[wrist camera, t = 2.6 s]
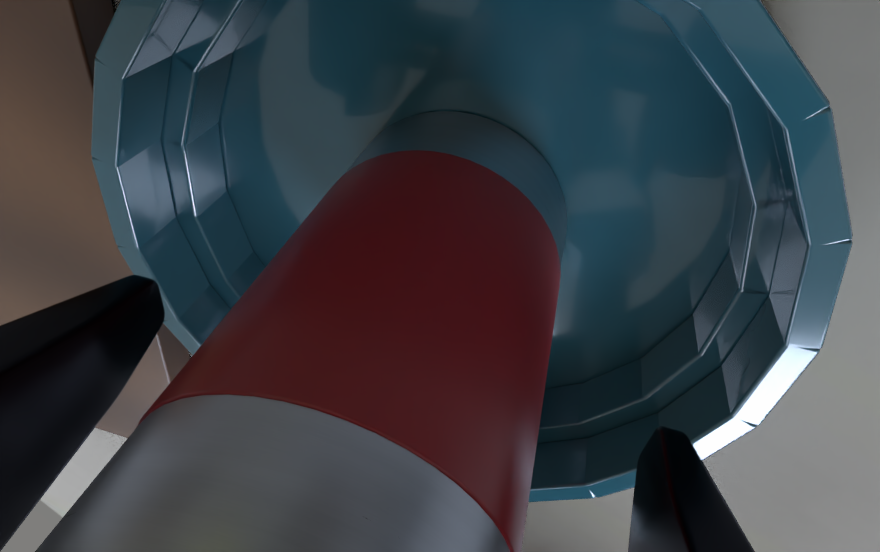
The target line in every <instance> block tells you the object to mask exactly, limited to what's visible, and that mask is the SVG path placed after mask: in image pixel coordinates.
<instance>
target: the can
mask: <svg viewBox="0 0 880 552" xmlns="http://www.w3.org/2000/svg"><path fill="white" fill-rule="evenodd" d="M566 227H567V213H566V205H565V200H564V196H563V192H562V190H561V187H560V185H559V182H558V180H557V178H556V176H555V174H554V173H553V171H552V169H551V167H550V166H549V165H548V163H547V162H546V161H545V159H544V158H543V157H542V155H541V154H540V153H539V152H538V151H537V150H536V149H535V148H534V147H533V146H532V145H531V144H530V143H528V142H527V141H526V140H525V139H523V138H522V137H521V136H520V135H518V134H517V133H515V132H513V131H512V130H510V129H509V128H507V127H505V126H503V125H501V124H499V123H497V122H494V121H492V120H490V119H487V118H484V117H480V116H477V115H474V114H468V113H462V112H451V111H438V112H427V113H422V114H418V115H414V116H411V117H408V118H405V119H403V120H400V121H398V122H396V123H395V124H393V125H391V126H389V127H388V128H386V129H385V130H384V131H382V132H381V133H380V134H379V135H377V136H376V137H375V138H374V139H373V140H372V142H371V143H370V144H369V145H368V146H367V147H366V148H365V150H364V151H363V152H362V153H361V154H360V156H359V157H358V158H357V159H356V161H355V162H354V163H353V164H352V165H351V167H350V168H349V169H348V170H347V172H346V173H345V174H344V175H343V176H341V178H340V179H339V180H338V181H337V182H336V183H335V184H334V185H333V186H332V187H331V189H330V190H329V191H328V192H327V193H326V195H325V196H324V197H323V198H322V200H321V201H320V202H319V203H318V204H317V206H316V207H315V208H314V209H313V210H312V212H311V213H310V214H309V215H308V217H307V218H306V219H305V220H304V221H303V223H302V224H301V225H300V226H299V227H298V229H297V230H296V231H295V232H294V234H293V235H292V236H291V237H290V238H289V240H288V241H287V242H286V243H285V244H284V246H283V247H282V248H281V249H280V250H279V252H278V253H277V254H276V255H275V257H274V258H273V259H272V260H271V261H270V263H269V264H268V265H267V266H266V267H265V269H264V270H263V271H262V272H261V274H260V275H259V276H258V277H257V278H256V280H255V281H254V282H253V283H252V284H251V286H250V287H249V288H248V289H247V290H246V292H245V293H244V294H243V295H242V297H241V298H240V299H239V300H238V301H237V303H236V304H235V305H234V306H233V307H232V309H231V310H230V311H229V312H228V314H227V315H226V316H225V317H224V318H223V320H222V321H221V322H220V323H219V324H218V326H217V327H216V328H215V329H214V330H213V332H212V333H211V334H210V335H209V337H208V338H207V339H206V340H205V341H204V343H203V344H202V345H201V346H200V347H199V349H198V350H197V351H196V352H195V354H194V355H193V356H192V357H191V358H190V360H189V361H188V362H187V363H186V364H185V366H184V367H183V368H182V369H181V371H180V372H179V373H178V374H177V375H176V377H175V378H174V379H173V380H172V381H171V383H170V384H169V385H168V386H167V387H166V389H165V390H164V391H163V392H162V394H161V395H160V396H159V397H158V398H157V400H156V401H155V402H154V403H153V404H152V406H151V407H150V408H149V409H148V411H147V412H146V413H145V414H144V415H143V417H142V418H141V420H140V421H139V423H138V425H137V427H136V429H135V430H134V432H133V433H132V434H131V435H130V436H129V438H128V439H127V440H126V441H125V443H124V444H123V445H122V446H121V447H120V449H119V450H118V451H117V452H116V454H115V455H114V456H113V457H112V458H111V460H110V461H109V462H108V463H107V465H106V466H105V467H104V468H103V469H102V471H101V472H100V473H99V474H98V476H97V477H96V478H95V479H94V480H93V482H92V483H91V484H90V485H89V487H88V488H87V489H86V490H85V491H84V493H83V494H82V495H81V496H80V497H79V499H78V500H77V501H76V502H75V504H74V505H73V506H72V507H71V508H70V510H69V511H68V512H67V513H66V515H65V516H64V517H63V518H62V520H61V521H60V522H59V523H58V525H57V526H56V527H55V528H54V529H53V530H52V532H51V533H50V534H49V535H48V537H47V538H46V539H45V540H44V542H43V543H42V544H41V545H40V546H39V548H38V549H37V550H36V551H35V552H521V550H522V543H523V536H524V529H525V522H526V516H527V509H528V502H529V495H530V488H531V481H532V474H533V467H534V460H535V453H536V446H537V439H538V432H539V426H540V419H541V412H542V405H543V398H544V391H545V384H546V377H547V370H548V363H549V356H550V349H551V342H552V336H553V329H554V322H555V315H556V308H557V301H558V294H559V287H560V276H561V263H562V256H563V250H564V243H565V236H566Z"/></svg>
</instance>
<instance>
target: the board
mask: <svg viewBox="0 0 880 552" xmlns="http://www.w3.org/2000/svg"><path fill="white" fill-rule="evenodd" d="M113 16H114V10H113V5H112V1H111V0H0V325H3V324H5V323H8V322H11V321H13V320H16V319H18V318H21V317H23V316H26V315H29V314H31V313H34V312H36V311H39V310H41V309H44V308H47V307H49V306H52V305H54V304H57V303H60V302H62V301H65V300H67V299H70V298H72V297H75V296H78V295H80V294H83V293H85V292H88V291H91V290H93V289H96V288H98V287H101V286H103V285H106V284H109V283H111V282H114V281H116V280H119V279H122V278H124V277H127V276H130V275H133V273H132V271H131V270H130V268H129V266H128V265H127V263H126V261H125V260H124V258H123V256H122V255H121V253H120V251H119V249H118V248H117V246H118V245H116V243H115V240H114V236H113V233H112V229H111V226H110V223H109V219H108V216H107V212H106V209H105V205H104V202H103V198H102V195H101V191H100V188H99V184H98V181H97V177H96V174H95V170H94V167H93V163H92V160H91V158H92V156H91V133H92V108H93V84H94V60H95V58H96V57H95V54H96V52H97V50H98V48H99V46H100V44H101V42H102V39H103V37H104V35H105V33H106V31H107V29H108V27H109V25H110V22H111V20H112V18H113ZM189 360H190V357H189V353H188V350H187V349H186V348H185V347H184V345H183V344H182V343H181V342H180V341H179V340H178V339H177V338H176V337H175V336H174V335H173V334H172V332H171V331H170V330H169V329H168V328H167V327H166V326H165V325H164V324H162V326H161V328H160V330H159V331H158V333H157V335H156V336H155V338H154V339H153V341H152V343H151V344H150V346H149V348H148V349H147V351H146V353H145V354H144V356H143V358H142V359H141V361H140V363H139V364H138V366H137V367H136V369H135V371H134V372H133V374H132V376H131V377H130V379H129V381H128V382H127V384H126V385H125V387H124V388H123V390H122V392H121V393H120V395H119V396H118V397H117V399H116V400H115V401H114V403H113V404H112V406H111V407H110V408H109V410H108V411H107V412H106V413H105V415H104V416H103V417H102V419H101V420H100V421H99V423H98V424H97V425H96V427H95V428H98V429H101V430H104V431H107V432H110V433H113V434H117V435H120V436H123V437H126V438H129V436H130V435H131V434H132V433H133V432H134V430H135V429H136V427H137V425H138V423H139V421H140V420H141V418H142V417H143V415H144V414H145V413H146V412H147V411H148V409H149V408H150V407H151V406H152V404H153V403H154V402H155V401H156V400H157V398H158V397H159V396H160V395H161V394H162V392H163V391H164V390H165V389H166V387H167V386H168V385H169V384H170V383H171V381H172V380H173V379H174V378H175V377H176V375H177V374H178V373H179V372H180V371H181V369H182V368H183V367H184V366H185V364H186V363H187V362H188V361H189Z"/></svg>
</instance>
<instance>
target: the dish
mask: <svg viewBox="0 0 880 552" xmlns="http://www.w3.org/2000/svg"><path fill="white" fill-rule="evenodd" d="M95 57H96V58H95V60H94V84H93V108H92V133H91V156H92V158H91V160H92V163H93V167H94V170H95V174H96V177H97V181H98V184H99V188H100V191H101V195H102V198H103V202H104V205H105V209H106V212H107V216H108V219H109V223H110V226H111V229H112V233H113V236H114V240H115V243H116V245H118V246H117V248H118V249H119V251H120V253H121V255H122V256H123V258H124V260H125V261H126V263H127V265H128V266H129V268H130V270H131V271H132V273H133V275H139V276H143V277H146V278H150V279H153V280H155V281H156V282H157V284H158V286H159V289H160V294H161V298H162V302H163V306H164V310H165V318H164V322H163V324H164V325H165V326H166V327H167V328H168V329H169V330H170V331H171V332H172V334H173V335H174V336H175V337H176V338H177V339H178V340H179V341H180V342H181V343H182V344H183V345H184V347H185V348H186V349H187V350H188V351H189V352H190V353H191V354H192V355H194V354H195V352H196V351H197V350H198V349H199V347H200V346H201V345H202V344H203V343H204V341H205V340H206V339H207V338H208V337H209V335H210V334H211V333H212V332H213V330H214V329H215V328H216V327H217V326H218V324H219V323H220V322H221V321H222V320H223V318H224V317H225V316H226V315H227V314H228V312H229V311H230V310H231V309H232V307H233V306H234V305H235V304H236V303H237V301H238V300H239V299H240V298H241V297H242V295H243V294H244V293H245V292H246V290H247V289H248V288H249V287H250V286H251V284H252V283H253V282H254V281H255V280H256V278H257V277H258V276H259V275H260V274H261V272H262V271H263V270H264V269H265V267H266V266H267V265H268V264H269V263H270V261H271V260H272V259H273V258H274V257H275V255H276V254H277V253H278V252H279V250H280V249H281V248H282V247H283V246H284V244H285V243H286V242H287V241H288V240H289V238H290V237H291V236H292V235H293V234H294V232H295V231H296V230H297V229H298V227H299V226H300V225H301V224H302V223H303V221H304V220H305V219H306V218H307V217H308V215H309V214H310V213H311V212H312V210H313V209H314V208H315V207H316V206H317V204H318V203H319V202H320V201H321V200H322V198H323V197H324V196H325V195H326V193H327V192H328V191H329V190H330V189H331V187H332V186H333V185H334V184H335V183H336V182H337V181H338V180H339V179H340V178H341V176H343V175H344V174H345V173H346V172H347V170H348V169H349V168H350V167H351V165H352V164H353V163H354V162H355V161H356V159H357V158H358V157H359V156H360V154H361V153H362V152H363V151H364V150H365V148H366V147H367V146H368V145H369V144H370V143H371V142H372V140H373V139H374V138H375V137H376V136H377V135H379V134H380V133H381V132H382V131H384V130H385V129H386V128H388V127H389V126H391V125H393V124H395V123H396V122H398V121H400V120H403V119H405V118H408V117H411V116H414V115H418V114H422V113H427V112H438V111H451V112H462V113H468V114H474V115H477V116H480V117H484V118H487V119H490V120H492V121H494V122H497V123H499V124H501V125H503V126H505V127H507V128H509V129H510V130H512V131H513V132H515V133H517V134H518V135H520V136H521V137H522V138H523V139H525V140H526V141H527V142H528V143H530V144H531V145H532V146H533V147H534V148H535V149H536V150H537V151H538V152H539V153H540V154H541V155H542V157H543V158H544V159H545V161H546V162H547V163H548V165H549V166H550V167H551V169H552V171H553V173H554V174H555V176H556V178H557V180H558V182H559V185H560V187H561V190H562V192H563V196H564V200H565V205H566V213H567V227H566V236H565V243H564V250H563V256H562V263H561V276H560V287H559V294H558V301H557V308H556V315H555V322H554V329H553V336H552V342H551V349H550V356H549V363H548V370H547V377H546V384H545V391H544V398H543V405H542V412H541V419H540V426H539V432H538V439H537V446H536V453H535V460H534V467H533V474H532V481H531V488H530V495H529V502H540V501H557V500H574V499H591V498H595V497H602V496H606V495H609V494H613V493H616V492H620V491H623V490H627V489H630V488H634V487H635V479H636V470H637V463H638V459H639V456H640V454H641V452H642V450H643V448H644V447H645V445H646V444H647V442H648V441H649V439H650V437H651V436H652V434H653V433H654V431H655V430H656V428H658V427H659V426H665V427H669V428H672V429H676V430H679V431H682V432H684V433H685V434H686V435H687V436H688V438H689V439H690V441H691V443H692V445H693V446H694V448H695V450H696V451H697V453H698V455H699V457H700V458H701V460H704V459H706V458H707V457H709V456H711V455H712V454H714V453H716V452H717V451H719V450H720V449H722V448H724V447H725V446H727V445H729V444H730V443H732V442H734V441H735V440H737V439H739V438H740V437H742V436H743V435H745V434H747V433H748V432H750V431H752V430H753V429H755V428H756V427H757V425H760V424H761V422H762V421H763V420H764V419H765V418H766V416H767V415H768V414H769V413H770V412H771V410H772V409H773V408H774V407H775V405H776V404H777V403H778V402H779V401H780V399H781V398H782V397H783V396H784V394H785V393H786V392H787V391H788V390H789V388H790V387H791V386H792V385H793V384H794V382H795V381H796V380H797V379H798V377H799V376H800V375H801V374H802V373H803V371H804V370H805V369H806V368H807V366H808V365H809V364H810V363H811V362H812V360H813V359H814V358H815V357H816V355H817V354H818V353H819V351H820V349H821V348H822V346H823V343H824V340H825V336H826V333H827V329H828V326H829V322H830V319H831V315H832V312H833V308H834V305H835V302H836V298H837V295H838V291H839V288H840V284H841V281H842V277H843V274H844V270H845V267H846V263H847V260H848V257H849V253H850V250H851V246H852V240H851V239H852V236H853V234H852V228H851V221H850V215H849V209H848V203H847V197H846V191H845V185H844V179H843V173H842V167H841V161H840V155H839V149H838V143H837V137H836V130H835V124H834V118H833V112H832V109H831V107H830V106H829V105H830V103H829V100H828V99H827V97H826V96H825V94H824V93H823V92H822V90H821V89H820V87H819V86H818V84H817V83H816V81H815V80H814V78H813V77H812V75H811V74H810V72H809V71H808V69H807V68H806V66H805V65H804V64H803V62H802V61H801V59H800V58H799V56H798V55H797V53H796V52H795V50H794V49H793V47H792V46H791V44H790V43H789V41H788V40H787V38H786V37H785V36H784V34H783V33H782V31H781V30H780V28H779V27H778V25H777V24H776V22H775V21H774V19H773V18H772V16H771V15H770V13H769V12H768V10H767V9H766V8H765V6H764V5H763V3H762V2H761V0H121V1H120V3H119V5H118V7H117V10H116V12H115V14H114V16H113V18H112V20H111V22H110V25H109V27H108V29H107V31H106V33H105V35H104V37H103V39H102V42H101V44H100V46H99V48H98V50H97V52H96V54H95Z"/></svg>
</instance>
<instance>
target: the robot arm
mask: <svg viewBox="0 0 880 552" xmlns="http://www.w3.org/2000/svg"><path fill="white" fill-rule="evenodd" d="M164 318H165V310H164V306H163V302H162V298H161V294H160V289H159V286H158V284H157V282H156V281H155V280H153V279H150V278H146V277H143V276H139V275H130V276H127V277H124V278H122V279H119V280H116V281H114V282H111V283H109V284H106V285H103V286H101V287H98V288H96V289H93V290H91V291H88V292H85V293H83V294H80V295H78V296H75V297H72V298H70V299H67V300H65V301H62V302H60V303H57V304H54V305H52V306H49V307H47V308H44V309H41V310H39V311H36V312H34V313H31V314H29V315H26V316H23V317H21V318H18V319H16V320H13V321H11V322H8V323H5V324H3V325H0V551H1V550H2V549H3V547H4V546H5V544H6V543H7V542H8V541H9V539H10V538H11V537H12V535H13V534H14V533H15V532H16V530H17V529H18V528H19V526H20V525H21V524H22V522H23V521H24V520H25V518H26V517H27V516H28V515H29V513H30V512H31V511H32V509H33V508H34V507H35V505H36V504H37V503H38V501H39V500H40V499H41V497H42V496H43V495H44V494H45V492H46V491H47V490H48V488H49V487H50V486H51V484H52V483H53V482H54V480H55V479H56V478H57V476H58V475H59V474H60V473H61V471H62V470H63V469H64V467H65V466H66V465H67V463H68V462H69V461H70V459H71V458H72V457H73V455H74V454H75V453H76V452H77V450H78V449H79V448H80V446H81V445H82V444H83V442H84V441H85V440H86V438H87V437H88V436H89V434H90V433H91V432H92V431H93V429H94V428H95V427H96V425H97V424H98V423H99V421H100V420H101V419H102V417H103V416H104V415H105V413H106V412H107V411H108V410H109V408H110V407H111V406H112V404H113V403H114V401H115V400H116V399H117V397H118V396H119V395H120V393H121V392H122V390H123V388H124V387H125V385H126V384H127V382H128V381H129V379H130V377H131V376H132V374H133V372H134V371H135V369H136V367H137V366H138V364H139V363H140V361H141V359H142V358H143V356H144V354H145V353H146V351H147V349H148V348H149V346H150V344H151V343H152V341H153V339H154V338H155V336H156V335H157V333H158V331H159V330H160V328H161V326H162V324H163V322H164ZM628 552H755V551H754V550H753V548H752V546H751V544H750V543H749V541H748V539H747V538H746V536H745V534H744V532H743V531H742V529H741V527H740V526H739V524H738V522H737V520H736V519H735V517H734V515H733V513H732V512H731V510H730V508H729V507H728V505H727V503H726V501H725V500H724V498H723V496H722V495H721V493H720V491H719V489H718V488H717V486H716V484H715V482H714V481H713V479H712V477H711V476H710V474H709V472H708V470H707V469H706V467H705V465H704V463H703V462H702V460H701V458H700V457H699V455H698V453H697V451H696V450H695V448H694V446H693V445H692V443H691V441H690V439H689V438H688V436H687V435H686V434H685V433H684V432H682V431H679V430H676V429H672V428H669V427H665V426H659V427H658V428H656V430H655V431H654V433H653V434H652V436H651V437H650V439H649V441H648V442H647V444H646V445H645V447H644V448H643V450H642V452H641V454H640V456H639V459H638V463H637V470H636V479H635V489H634V498H633V508H632V517H631V527H630V536H629V547H628Z"/></svg>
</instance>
